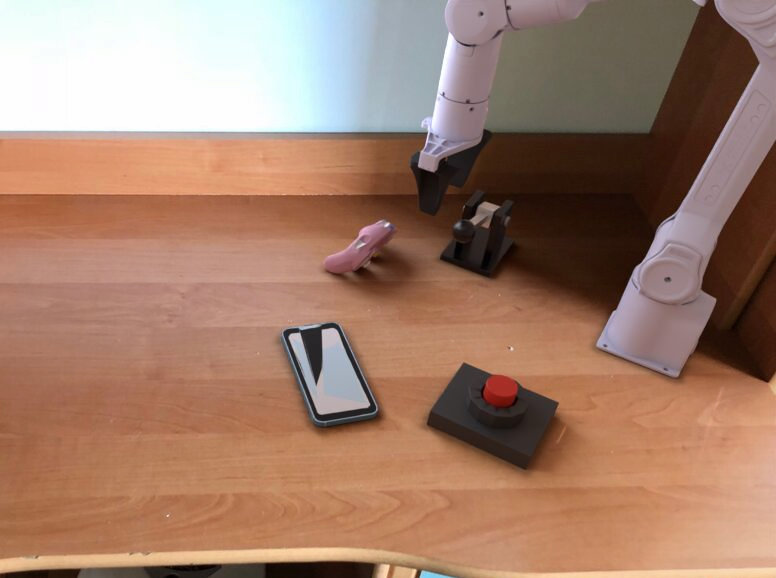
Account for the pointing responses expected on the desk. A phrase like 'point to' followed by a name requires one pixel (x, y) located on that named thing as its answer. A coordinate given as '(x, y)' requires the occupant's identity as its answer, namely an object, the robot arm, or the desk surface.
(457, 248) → the bracket
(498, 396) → the button
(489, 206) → the press lever
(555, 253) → the desk surface
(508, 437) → the button box
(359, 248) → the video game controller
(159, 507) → the desk surface
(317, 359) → the smartphone
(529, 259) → the desk surface
